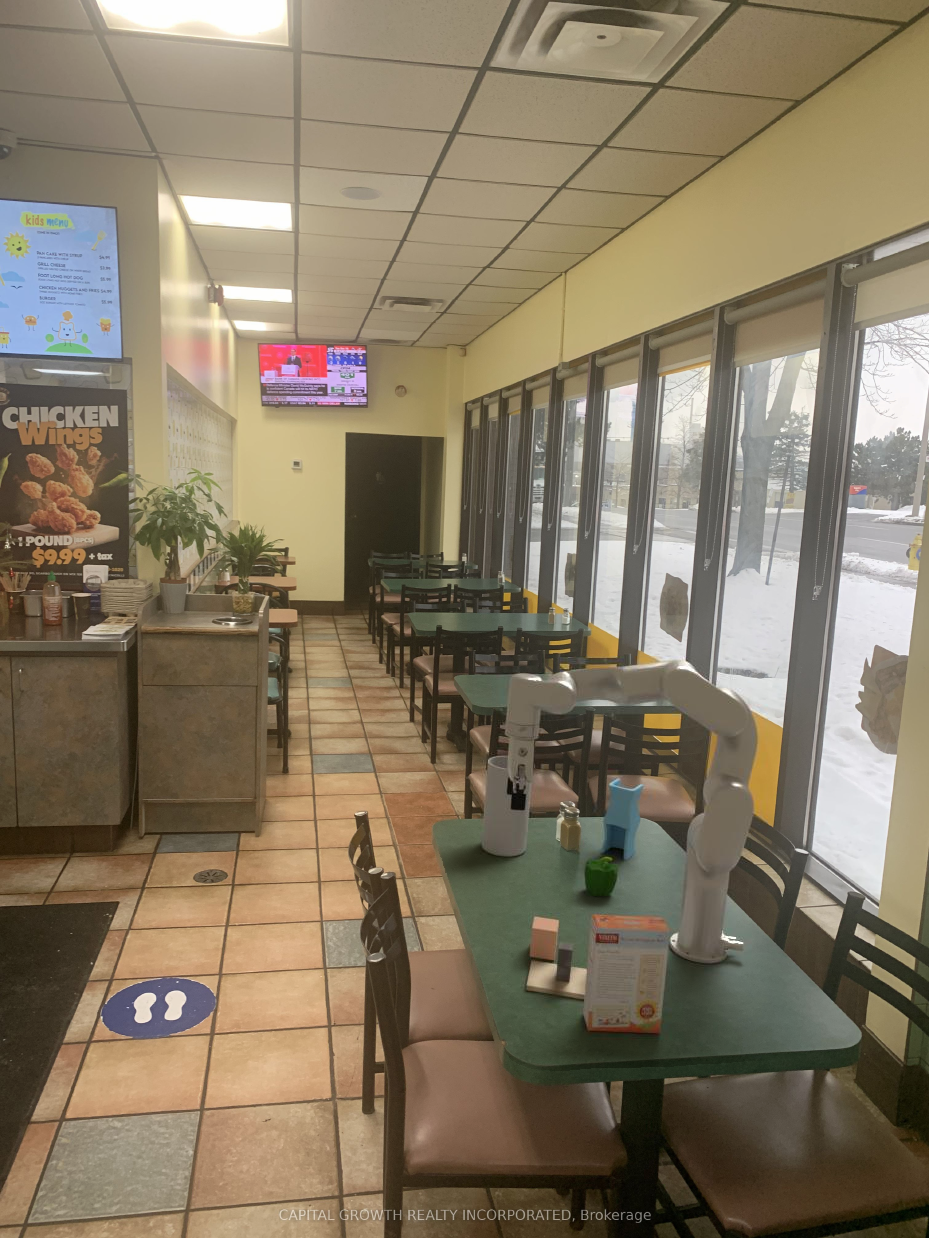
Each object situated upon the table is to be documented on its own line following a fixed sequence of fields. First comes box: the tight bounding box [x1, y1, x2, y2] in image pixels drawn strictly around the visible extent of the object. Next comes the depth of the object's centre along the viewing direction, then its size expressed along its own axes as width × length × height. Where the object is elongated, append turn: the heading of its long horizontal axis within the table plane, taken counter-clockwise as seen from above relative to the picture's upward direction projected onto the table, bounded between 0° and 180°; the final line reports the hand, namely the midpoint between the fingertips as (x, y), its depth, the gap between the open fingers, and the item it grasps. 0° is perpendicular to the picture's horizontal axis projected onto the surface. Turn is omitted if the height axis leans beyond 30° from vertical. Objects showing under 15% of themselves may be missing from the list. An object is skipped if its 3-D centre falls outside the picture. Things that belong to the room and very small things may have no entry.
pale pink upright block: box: [529, 916, 560, 961], centre depth 195 cm, size 5×5×7 cm
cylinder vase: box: [481, 755, 533, 857], centre depth 249 cm, size 12×12×25 cm
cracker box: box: [582, 914, 671, 1034], centre depth 169 cm, size 14×6×21 cm, turn 92°
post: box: [525, 941, 587, 1000], centre depth 183 cm, size 14×10×8 cm
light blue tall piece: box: [600, 777, 644, 861], centre depth 253 cm, size 8×8×20 cm
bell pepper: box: [583, 856, 619, 897], centre depth 226 cm, size 8×8×10 cm
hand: (515, 801), depth 203 cm, fingers open, 9 cm apart
